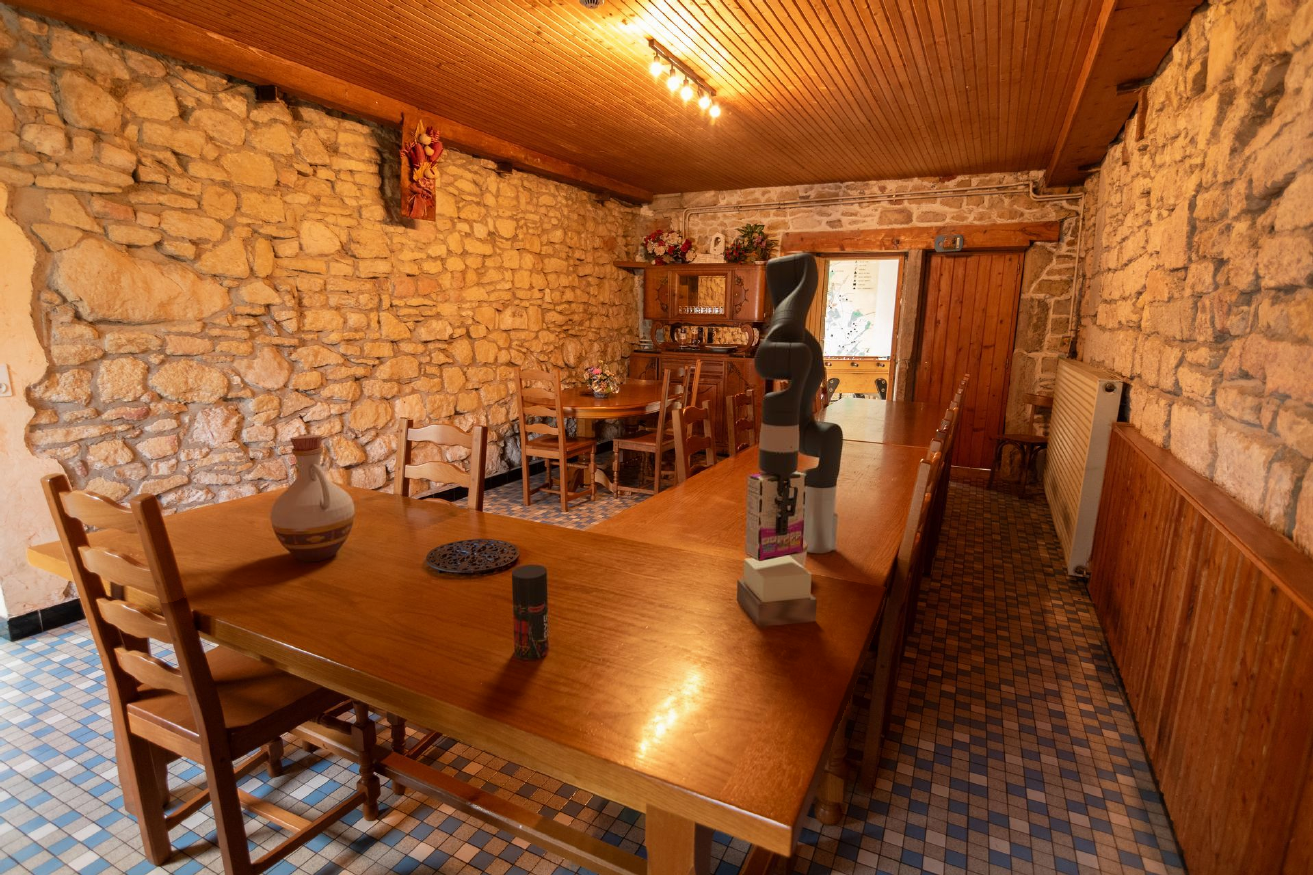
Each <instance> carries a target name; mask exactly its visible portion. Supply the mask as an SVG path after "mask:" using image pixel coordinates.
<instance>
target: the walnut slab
mask: <svg viewBox="0 0 1313 875" xmlns="http://www.w3.org/2000/svg"><path fill="white" fill-rule="evenodd" d="M736 582H737V587H736V600H737V602H738V603H739V604H740V606H741V607H742V608H743V609H744V611H745V612H746V614H747V615H748V616H749V617H750V619H751V620H752V621H753V622H754V623H755V625H756V626H757V627H758V628H759V627H762V628H763V627H770V626H780V625H791V624H802V623H809V622H816V621H817V604H818V599H817V598H816V597H815V596H814V595H813V594H812V593H811V592H810V598H803V599H793V600H783V601H773V602H762V601H761V600H760V599H759V598H758V597H757V596H756V595H755V594H754V593H753V592H752V590H751V589H750V588H749V587H748V586H747V585H746V584H745V583H744V582H743V578H739V579H737V581H736Z"/></svg>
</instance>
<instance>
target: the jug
mask: <svg viewBox="0 0 1313 875" xmlns="http://www.w3.org/2000/svg"><path fill="white" fill-rule="evenodd" d="M289 440H290V443H291V444H292V446H293V448H291V452H292V455H294V457H295V459H296V460H295V461H296V462H297V468H298V476H297V478H296V479H295V480H294V481H293V482H292V483H291V484H290V485H289V486H288V488H286V489H285V490H284V491H283V492H282V493H281V494H280V495H279V496H278V497H277V498H276V499H275V501H274V503H273V505H272V507H271V510H270V516H269V517H270V522H271V523H270V524H271V528H272V529H273V532H274V533H275V536H276V538H277V540H278V542H280V544H281V546H282V547H283V548H284V549H286V550H287V551H288V552H289V553H290V554H291V555H293V556H294V557H296V558H297V559H298V560H299V561H302V562H307V563H308V562H320V561H323V560H327V559H330V558H332V557H334V556H336V554H337V553H338V552H339V551H340V549H341V548H342V546H343V545H344V544H345V542H346V540H347V539H348V538H349V536H350V534H351V532H352V531H351V530H352V528H353V525H354V521H355V520H354V519H355V503H354V500H353V498H352V497H351V496H350V494H349V493H348V492H347V491H346V490H345V489H343V488H342V487H340V486H339V485H337V484H336V483H334V482H333V481H331V480H330V479H329V478H327V476H326V475H325V472H324V470H323V469H322V467H321V459H322V458H321V457H322V453H323V452H324V447H323V446H322V440H323V434H310V435H309V434H308V435H299V436H293V437H290V438H289Z"/></svg>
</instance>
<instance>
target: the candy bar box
mask: <svg viewBox="0 0 1313 875" xmlns="http://www.w3.org/2000/svg"><path fill="white" fill-rule="evenodd" d="M801 472H802V471H798V470H797V471H796V472H794V473H792V474H790V482H791V487H797V488H798V494H797V501H796V509H795V515H794V516H790V517H788V533H787V535H782V536H778V535H777V534H776V516H777V515H776V505H775V504H774V499H775V498H776V497H777V500H779V501H780V500H782V497H781V496H779V495H778V492H777V489H778V478H777V477H776V476H774V475H773V474H771V473H761V474H759V473H756V474H748V475H747V476H746V477H747V478H746V484H747V485H746V488H747V489H746V514H745V515H746V517H745V518H746V519H745V520H746V521H745V524H746V525H745V554H746V555H747V556H749V557H750V558H754V559H756V560H758V561H764V560H769V559H774V558H778V557H783V556H787V555H792V554H797V553H801V552H803V535H804V510H805V488H806V474H804V473H801ZM790 507H791V506H790ZM780 510H781V505H780Z"/></svg>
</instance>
